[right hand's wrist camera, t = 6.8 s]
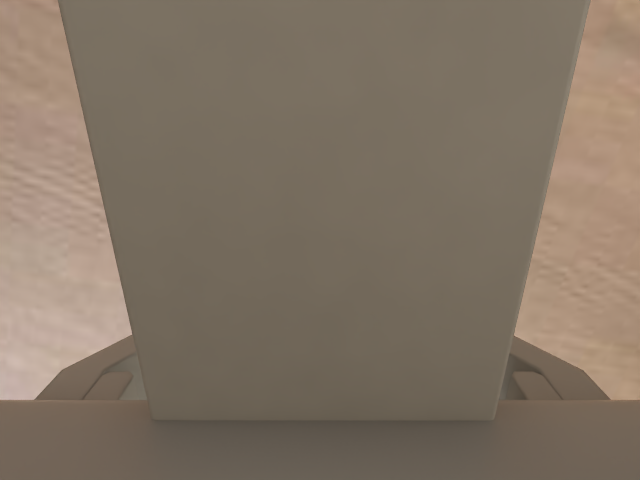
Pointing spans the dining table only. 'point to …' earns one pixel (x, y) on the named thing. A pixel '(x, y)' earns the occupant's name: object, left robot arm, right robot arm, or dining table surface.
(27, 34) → the dining table surface
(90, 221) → the dining table surface
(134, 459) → the right robot arm
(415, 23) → the bar
